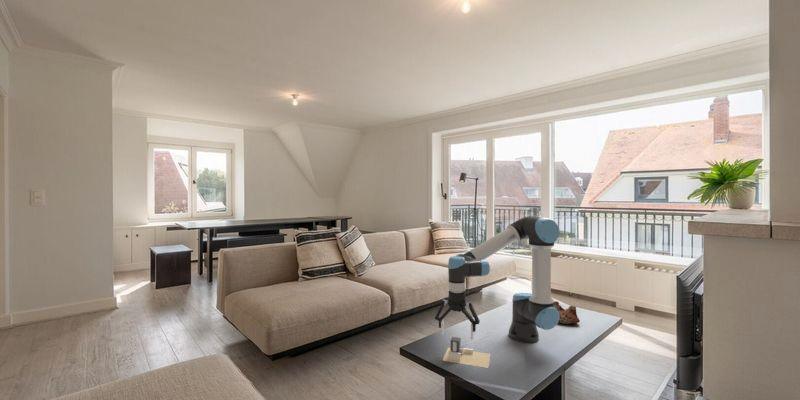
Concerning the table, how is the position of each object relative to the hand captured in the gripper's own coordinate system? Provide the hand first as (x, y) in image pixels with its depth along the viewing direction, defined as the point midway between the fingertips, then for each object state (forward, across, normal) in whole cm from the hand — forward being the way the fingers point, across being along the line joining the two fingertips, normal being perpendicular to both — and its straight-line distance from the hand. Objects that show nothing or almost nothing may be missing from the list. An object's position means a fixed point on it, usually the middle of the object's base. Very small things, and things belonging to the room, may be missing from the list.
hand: (457, 336), depth 159 cm
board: (+10, -4, -1) cm, 11 cm away
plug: (+9, +1, +1) cm, 9 cm away
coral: (+12, -53, -71) cm, 89 cm away
